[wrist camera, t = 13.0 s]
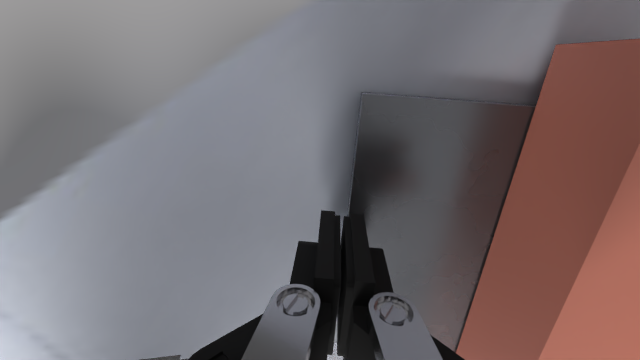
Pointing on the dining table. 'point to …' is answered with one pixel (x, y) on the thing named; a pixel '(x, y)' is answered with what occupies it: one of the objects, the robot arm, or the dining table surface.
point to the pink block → (569, 221)
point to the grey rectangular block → (435, 195)
